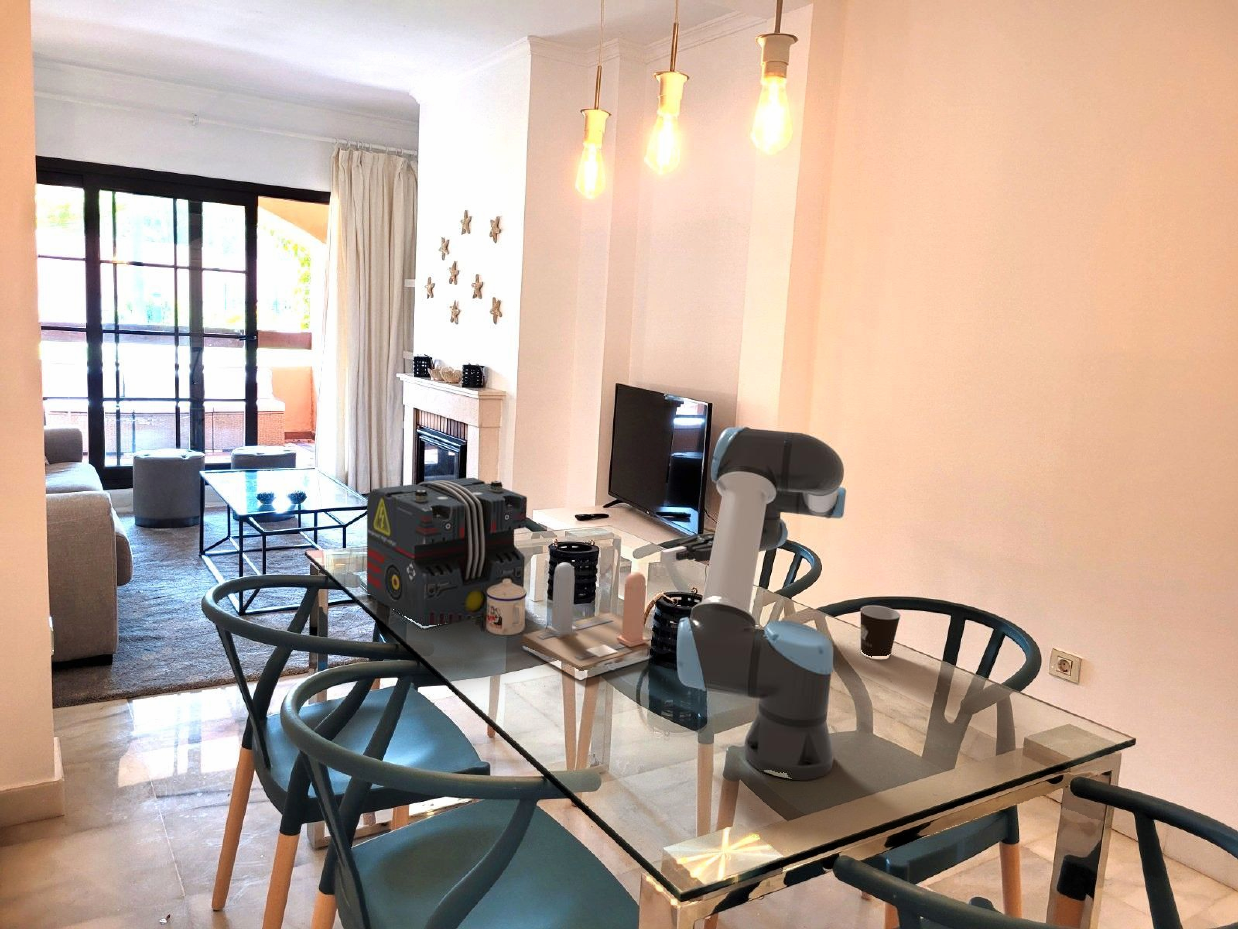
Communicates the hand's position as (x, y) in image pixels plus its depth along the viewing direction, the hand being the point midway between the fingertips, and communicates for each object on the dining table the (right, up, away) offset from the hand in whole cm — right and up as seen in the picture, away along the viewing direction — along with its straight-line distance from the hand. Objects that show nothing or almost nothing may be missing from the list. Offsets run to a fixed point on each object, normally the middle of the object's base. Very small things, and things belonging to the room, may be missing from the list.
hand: (662, 557), depth 202 cm
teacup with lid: (-34, -18, +9) cm, 40 cm away
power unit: (-52, -13, +26) cm, 60 cm away
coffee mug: (+49, -23, +9) cm, 54 cm away
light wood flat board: (-14, -20, +1) cm, 25 cm away
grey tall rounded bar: (-22, -16, +2) cm, 27 cm away
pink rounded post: (-7, -18, -2) cm, 19 cm away
